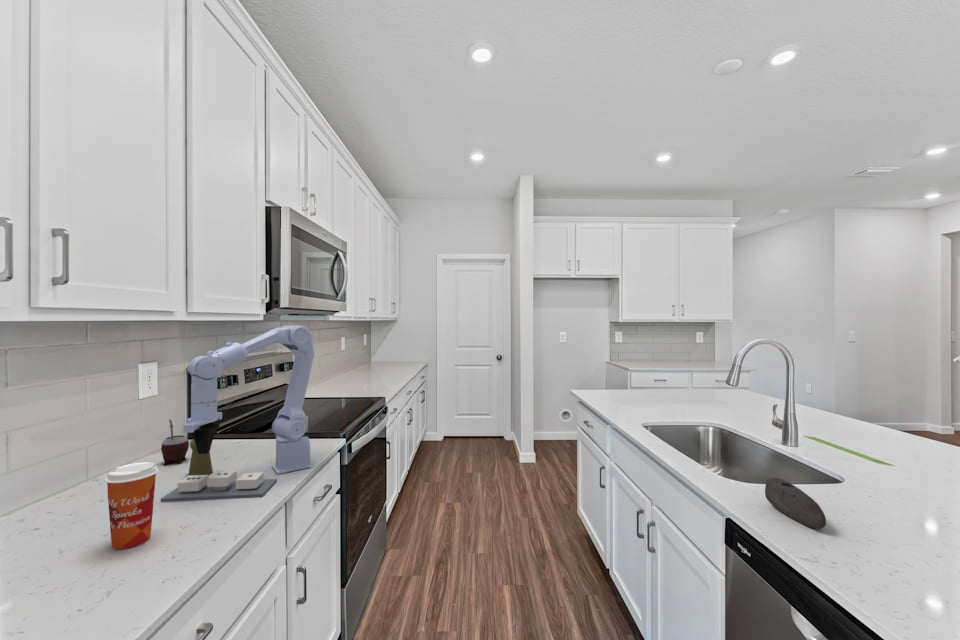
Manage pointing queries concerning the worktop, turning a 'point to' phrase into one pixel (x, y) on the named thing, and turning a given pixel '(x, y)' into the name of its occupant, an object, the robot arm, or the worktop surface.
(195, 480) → the key three
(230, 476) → the key two
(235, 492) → the keypad base
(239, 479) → the key one
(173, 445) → the mate gourd
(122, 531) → the coffee cup
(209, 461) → the cork
